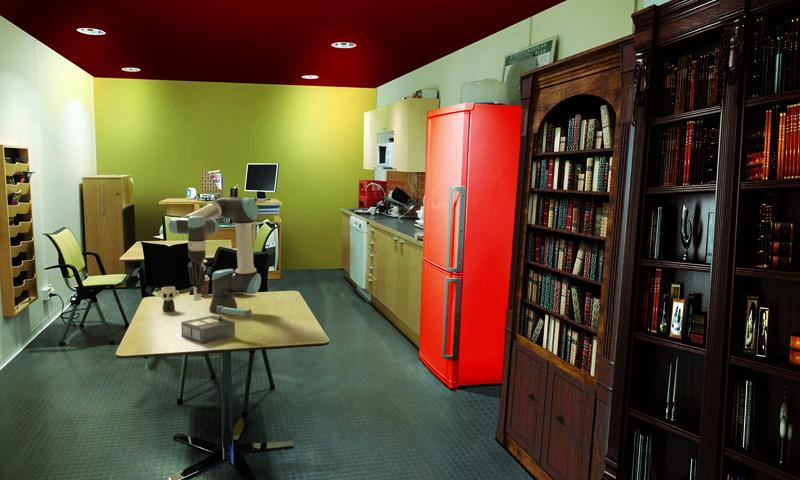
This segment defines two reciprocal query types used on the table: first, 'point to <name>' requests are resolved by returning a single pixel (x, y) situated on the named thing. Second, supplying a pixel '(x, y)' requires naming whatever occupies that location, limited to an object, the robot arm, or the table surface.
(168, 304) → the big eared figurine
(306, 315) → the table surface
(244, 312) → the cable arm
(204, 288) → the coffee cup
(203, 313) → the table surface
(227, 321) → the box
